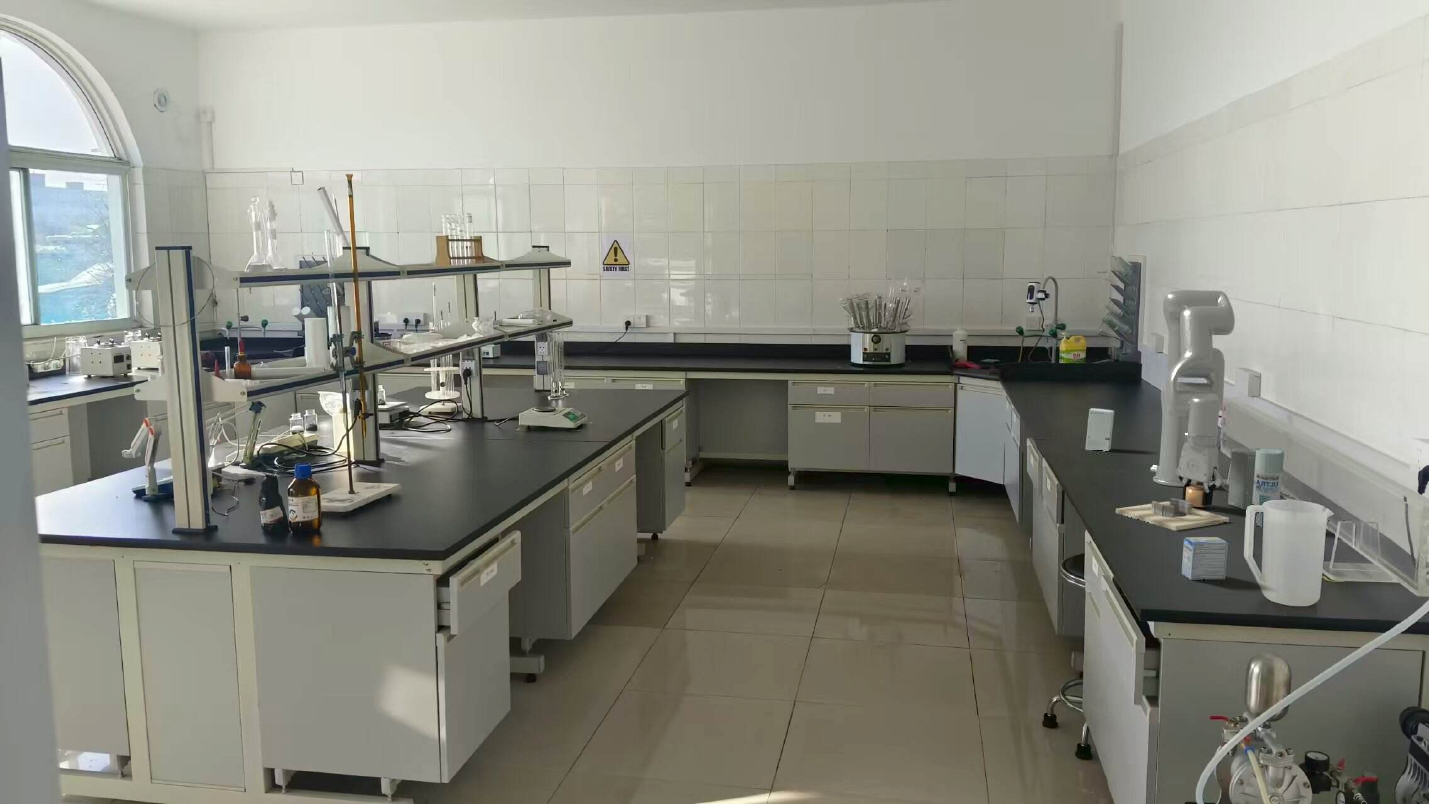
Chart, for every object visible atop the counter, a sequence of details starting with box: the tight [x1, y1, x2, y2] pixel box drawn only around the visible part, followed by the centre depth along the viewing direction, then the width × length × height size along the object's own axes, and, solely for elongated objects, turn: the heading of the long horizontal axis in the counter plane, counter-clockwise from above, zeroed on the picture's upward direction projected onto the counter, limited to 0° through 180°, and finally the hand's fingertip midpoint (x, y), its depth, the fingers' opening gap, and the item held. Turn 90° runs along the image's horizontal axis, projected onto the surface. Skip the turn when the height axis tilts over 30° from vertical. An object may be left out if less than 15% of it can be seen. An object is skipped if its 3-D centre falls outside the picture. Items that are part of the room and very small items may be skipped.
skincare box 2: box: [1227, 450, 1256, 510], centre depth 295 cm, size 8×7×16 cm
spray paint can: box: [1252, 448, 1285, 529], centre depth 274 cm, size 6×6×20 cm
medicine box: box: [1181, 536, 1229, 581], centre depth 231 cm, size 8×4×9 cm, turn 92°
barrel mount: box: [1115, 497, 1230, 532], centre depth 283 cm, size 20×20×4 cm
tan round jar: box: [1185, 484, 1208, 508], centre depth 294 cm, size 6×6×5 cm
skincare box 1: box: [1085, 407, 1115, 452], centre depth 377 cm, size 8×6×15 cm
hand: (1196, 501), depth 295 cm, fingers closed on tan round jar, 6 cm apart
